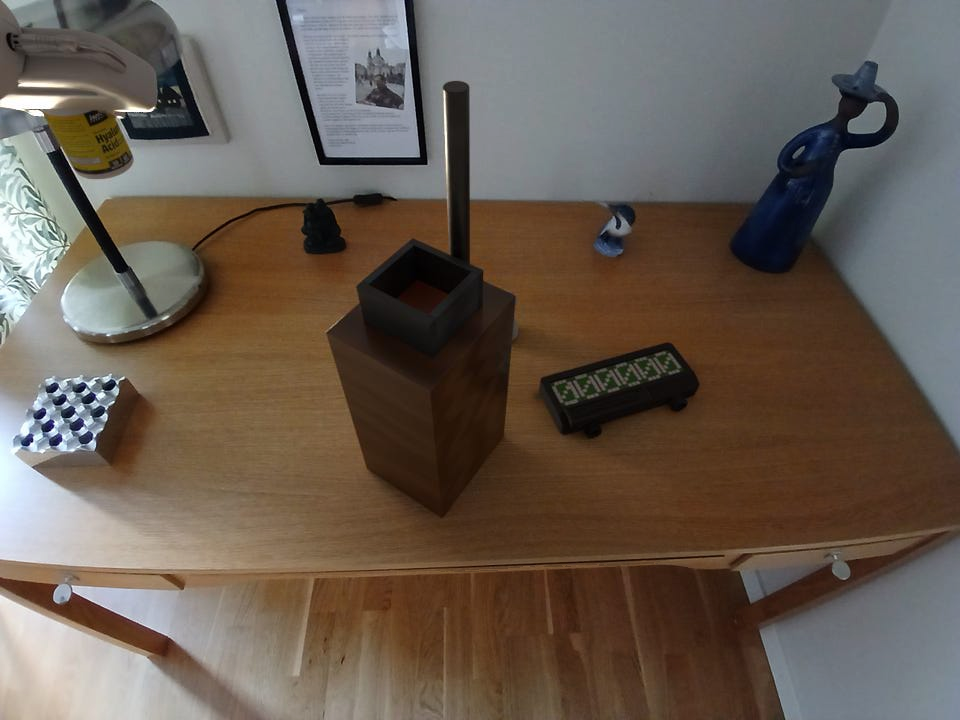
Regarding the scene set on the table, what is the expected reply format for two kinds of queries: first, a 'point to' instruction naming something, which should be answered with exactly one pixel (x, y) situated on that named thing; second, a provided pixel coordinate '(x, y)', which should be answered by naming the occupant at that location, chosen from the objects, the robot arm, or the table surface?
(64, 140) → the supplement bottle
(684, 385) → the digital display
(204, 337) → the table surface
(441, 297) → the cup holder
